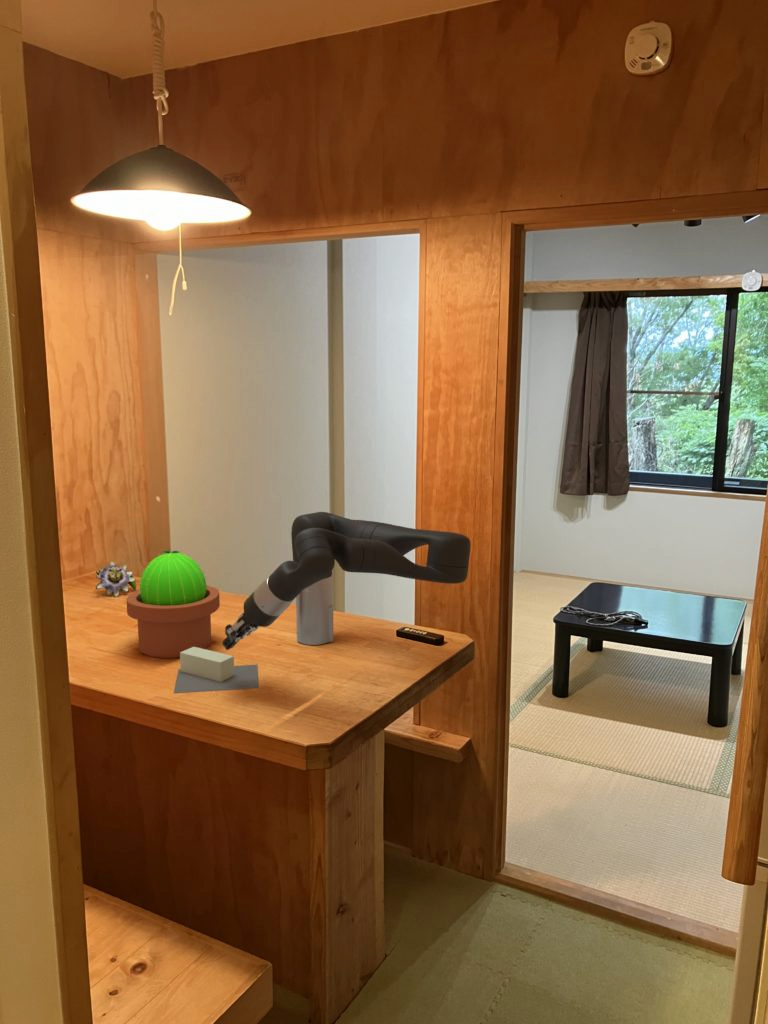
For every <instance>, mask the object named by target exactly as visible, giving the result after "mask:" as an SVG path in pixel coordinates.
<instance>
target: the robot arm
mask: <svg viewBox="0 0 768 1024" xmlns="http://www.w3.org/2000/svg"><path fill="white" fill-rule="evenodd" d="M290 533H291V534H290V535H291V549H292V551H291V552H292V560H285V561H284V562H282V563H281V564H279V565H278V567H277V568H276V569H275V570H274V571H273V572H272V573H271V574H270V575H269V576H268V577H267V578H265V579H264V580H263V581H262V582H261V583H260V584H259V585H258V586H257V588H256V589H254V591H253V592H251V594H250V595H249V596H248V597H247V598H246V599H245V600H244V602H243V612H242V613H241V614H240V615H239V616H238V619H237V620H236V621H235V622H234V623H233V624H230V623H229V624H227V625H226V626H225V629H224V631H225V632H224V634H225V635H226V637H225V638H224V639H223V640H222V642H221V643H222V645H223V647H224V648H225V650H227V651H229V650H231V649H232V648H234V647H235V646H236V645H237V644H238V643H239V641H240V640H244V639H245V637H246V636H250V635H252V633H254V632H255V631H257V630H258V629H259V628H261V627H262V628H266V627H267V628H268V627H269V626H271V625H272V624H273V623H274V622H275V621H276V620H277V619H278V618H279V617H280V616H281V615H282V614H283V613H284V612H285V611H286V610H287V609H288V607H290V605H291V604H292V603H293V601H294V600H295V599H296V600H295V601H296V604H295V605H296V607H295V608H296V609H295V610H296V611H295V612H296V641H297V642H298V643H300V644H303V645H308V646H311V645H312V646H313V645H314V646H318V645H324V644H329V643H333V642H334V606H333V570H334V568H335V561H336V563H337V564H338V565H339V567H340V568H341V569H342V570H343V571H344V572H346V573H347V572H348V573H360V574H361V573H363V574H378V575H379V574H380V575H381V574H382V575H388V576H395V577H399V578H406V579H411V580H416V581H417V580H419V581H423V582H424V581H425V582H432V583H437V584H438V583H439V584H446V585H447V584H449V585H451V584H452V585H453V584H462V583H464V582H465V581H466V580H467V578H468V574H469V567H470V565H469V563H470V556H471V555H470V554H471V547H472V546H471V539H470V538H469V537H468V536H467V535H464V534H461V533H458V532H451V531H441V530H431V529H422V528H421V529H420V528H413V527H412V528H411V527H405V526H400V525H395V524H391V523H386V522H381V521H374V520H373V521H372V520H363V519H351V518H347V517H343V516H340V515H338V514H335V513H330V512H327V511H326V512H325V511H316V512H313V513H306V514H301V515H298V516H297V517H296V518H295V519H294V520H293V522H292V525H291V532H290ZM427 545H428V548H427V555H426V556H427V557H426V563H425V564H426V566H423V565H420V564H417V563H415V562H412V561H411V560H410V559H409V558H407V557H405V555H407V554H408V553H410V552H411V551H413V550H415V549H417V548H419V547H422V546H427Z"/></svg>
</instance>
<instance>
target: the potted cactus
mask: <svg viewBox="0 0 768 1024" xmlns="http://www.w3.org/2000/svg"><path fill="white" fill-rule="evenodd" d="M161 553H162V554H159V555H158V556H157V557H154V556H152V557H153V559H152V560H151V561H149V562H148V563H147V564H148V565H147V566H144V570H143V572H142V573H141V577H140V580H139V583H138V585H139V589H136V590H134V591H132V593H130V594H129V595H128V596H127V597H126V613H127V616H129V618H132V619H134V620H137V632H138V633H137V634H138V635H137V636H138V637H137V638H138V649H139V651H140V652H141V654H143V655H146V656H148V657H153V658H162V659H177V658H178V659H180V652H182V651H185V650H187V649H189V648H192V647H197V648H202V649H206V648H209V647H210V646H211V644H212V619H211V615H212V614H214V613H215V612H217V610H219V608H220V604H221V602H220V591H219V589H217V588H216V587H215V586H211V585H208V584H207V580H206V578H207V577H206V576H205V575H204V574H205V572H204V570H203V569H201V567H202V564H201V563H199V564H198V562H196V560H194V559H195V558H192V557H190V555H187V554H184V553H182V551H178V550H171V551H170V550H163V551H161Z"/></svg>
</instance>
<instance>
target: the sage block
mask: <svg viewBox="0 0 768 1024" xmlns="http://www.w3.org/2000/svg"><path fill="white" fill-rule="evenodd" d="M179 662H180V663H179V664H180V667H179V669H181V671H182V672H185V673H189V674H193V675H197V676H201V677H204V678H208V679H212V680H216V681H220V682H222V681H224V680H226V679H228V678H230V677H232V676H234V666H235V656H234V655H230V654H226V653H221V652H219V651H218V652H217V651H214V650H210V649H206V648H204V649H202V648H197V647H192V648H189V649H187V650H185V651H182V652H180V658H179Z"/></svg>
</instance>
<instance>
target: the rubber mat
mask: <svg viewBox="0 0 768 1024" xmlns="http://www.w3.org/2000/svg"><path fill="white" fill-rule="evenodd" d="M259 683H260V682H259V666H258V664H257V663H256V664H244V665H243V664H242V665H234V676H232V677H230V678H228V679H226V680H224V681H222V682H220V681H216V680H212V679H208V678H204V677H201V676H197V675H193V674H189V673H185V672H182V671H181V668H178V669H177V675H176V680H175V685H174V689H173V694H185V693H187V694H188V693H201V692H202V693H204V692H205V693H206V692H219V691H234V690H237V691H238V690H248V689H249V690H250V689H254V690H255V689H260V684H259Z"/></svg>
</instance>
